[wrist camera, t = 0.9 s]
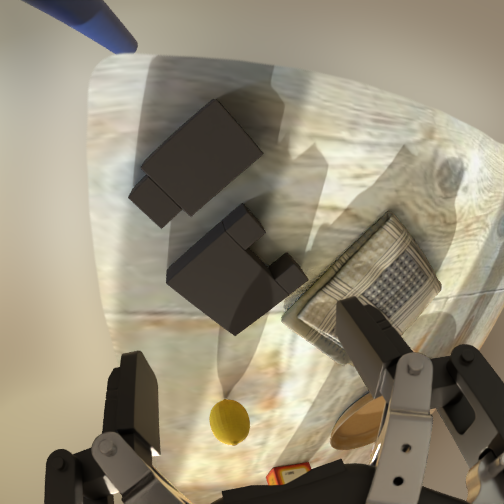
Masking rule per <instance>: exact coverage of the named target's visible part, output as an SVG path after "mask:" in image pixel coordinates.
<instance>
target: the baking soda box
mask: <svg viewBox="0 0 504 504" xmlns="http://www.w3.org/2000/svg"><path fill="white" fill-rule="evenodd" d="M310 470H311V467H310V464H309V462H306V463H301V464H295V465H289V466H282V467H275V468H273V469H272V470H271V471H270V473H269V474H268V475H267V476H266V479H267V482H268V485H283V484H286V483H289V482H290V481H292V480H294V479H296V478H298V477H299V476H301V475H303V474H305V473H306V472H308V471H310Z"/></svg>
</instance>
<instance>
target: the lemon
mask: <svg viewBox="0 0 504 504" xmlns="http://www.w3.org/2000/svg"><path fill="white" fill-rule="evenodd" d="M210 426H211V429H212V432H213V434H214V435H215V437H216V438H217V439H218V440H219V441H221V442H222V443H225V444H228V445H233V446H235V445H237V444H238V443H240V442H242V441H243V440H244V439H245V438H246V437H247V436H248V433H249V429H250V420H249V416H248V413H247V411H246V409H245V408H244V407H243V406H242V405H241V404H240V403H238V402H237V401H234V400H227V399H224V400H223V401H220V402H218V403H217V404H216V405H215V406H214V407H213V408H212V410H211V413H210Z"/></svg>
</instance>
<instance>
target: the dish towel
mask: <svg viewBox="0 0 504 504" xmlns="http://www.w3.org/2000/svg"><path fill="white" fill-rule="evenodd" d="M441 286H442V284H441V283H440V281H439V280H438V279H437V277H436V274H435V273H434V271H433V269H432V267H431V265H430V263H429V262H428V260H427V258H426V257H425V255H424V254H423V252H422V250H421V249H420V247H419V246H418V245H417V243H416V242H415V240H414V239H413V237H412V236H411V235H410V234H409V232H408V231H407V230H406V228H405V227H404V225H403V224H402V223H401V222H400V221H399V220H398V218H397V217H396V216H395V215H394V214H393V213H392V212H390V211H387V212H386V213H385V215H384V216H383V217H382V218H381V219H379V220H378V222H377V223H376V224H374V225H373V226H372V227H371V228H370V229H369V230H368V231H366V233H365V234H364V235H363V236H362V237H360V238H359V240H358V241H357V242H355V243H354V244H353V245H352V246H351V247H350V248H349V249H348V250H347V251H346V252H345V253H344V254H343V255H342V256H341V257H340V258H339V259H338V260H337V261H336V262H335V263H334V265H333V266H331V267H330V268H329V270H328V271H327V272H326V273H325V274H324V275H323V276H322V277H321V278H320V279H319V280H318V281H317V282H316V283H315V284H314V285H313V286H312V287H311V288H310V289H308V291H306V292H305V293H304V294H303V295H302V296H301V297H300V299H299V300H298V301H297V302H296V303H295V304H294V305H293V306H292V307H291V308H290V309H289V310H288V311H287V312H285V313H284V315H283V316H282V317H281V318H282V319H281V322H283V323H284V324H285V325H286V326H287V327H288V328H289V329H291V330H292V331H293V332H295V333H296V334H298V335H299V336H301V337H302V338H304V339H305V340H306V341H308V342H310V343H311V344H312V345H314V346H316V347H317V348H318V349H319V350H321V351H322V352H323V353H325V354H326V355H328V356H329V357H330V358H331V359H333V360H334V361H335V362H336V363H338V364H340V365H342V366H344V365H345V364H347V363H348V364H351V365H352V366H353V367H355V366H354V365H353V363H352V361H351V360H350V358H349V356H348V355H347V353H346V351H345V350H344V348H343V346H342V345H341V343H340V341H339V339H338V337H337V333H336V303H337V301H339V300H342V299H345V298H349V297H352V296H356V297H357V298H358V300H359V301H360V302H361V303H362V305H363V306H364V305H367V304H370V305H372V306H374V307H375V308H377V309H379V310H380V311H381V312H382V314H383V315H384V316H385V317H386V319H387V320H388V321H389V322H390V323H391V325H392V327H394V328H395V330H396V331H397V332H398V333H399V335H400V336H401V335H402V334H403V333H404V332H405V331H406V330H407V328H408V327H409V326H410V325H411V324H412V323H413V322H414V321H415V320H416V319H417V318H418V317H419V315H420V314H421V313H422V312H423V311H424V309H425V308H426V307H427V306H428V305H429V303H430V302H431V301H432V300H433V299H434V297H435V296H436V295H437V294H438V293H439V292H440V291H441Z"/></svg>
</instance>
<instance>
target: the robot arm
mask: <svg viewBox="0 0 504 504" xmlns="http://www.w3.org/2000/svg"><path fill="white" fill-rule="evenodd" d="M336 333H337V337H338V339H339V341H340V343H341V345H342V346H343V348H344V350H345V351H346V353H347V355H348V356H349V358H350V360H351V361H352V363H353V365H354V366H355V368H356V370H357V371H358V373H359V375H360V376H361V378H362V380H363V382H364V383H365V385H366V387H367V388H368V390H369V392H370V393H371V395H372V397H373V399H376V398H378V397H381V396H383V398H384V399H385V401H386V402H385V405H384V410H383V414H382V419H381V423H380V427H379V431H378V435H377V439H376V443H375V446H374V449H373V452H372V455H371V458H370V461H369V464H368V465H366V464H357V463H353V464H344V463H343V461H342V459H339V460H336V461H334V462H331V463H328V464H325V465H322V466H319V467H316V468H313V469H311V470H310V471H308V472H306V473H305V474H303V475H301V476H299V477H298V478H296V479H294V480H292V481H290V482H289V483H286V484H283V485H251V486H246V487H241V488H236V489H231V490H225V491H222V495H223V497H222V498H220V499H218V500H216V501H214V502H213V503H211V504H504V383H503V381H502V380H501V379H500V377H499V376H498V375H497V374H496V372H495V371H494V369H493V368H492V367H491V366H490V364H489V363H488V362H487V361H486V359H485V358H484V357H483V355H482V354H481V353H480V352H479V350H478V349H476V348H475V347H473V346H471V345H467V344H462V345H459V346H457V347H455V348H454V349H453V351H452V353H451V355H450V356H446V357H440V358H434V359H429V358H428V357H427V356H425V355H423V354H421V353H416V352H413V351H412V350H411V349H410V347H409V346H408V345H407V344H406V342H405V341H404V340H403V338H402V337H401V336H400V335H399V333H398V332H397V331H396V330H395V328H394V327H392V325H391V323H390V322H389V321H388V320H387V319H386V317H385V316H384V315H383V314H382V312H381V311H380V310H379V309H377V308H375V307H374V306H372V305H370V304H367V305H364V306H363V305H362V303H361V302H360V301H359V300H358V298H357V297H356V296H352V297H349V298H345V299H342V300H339V301H337V303H336ZM433 408H436V409H437V411H438V413H439V414H440V416H441V418H442V419H443V421H444V423H445V425H446V426H447V428H448V430H449V431H450V433H451V435H452V437H453V439H454V440H455V442H456V444H457V446H458V448H459V449H460V451H461V453H462V455H463V457H464V459H465V461H466V462H467V464H468V466H469V468H470V470H469V472H468V473H467V476H466V486H467V489H468V497H467V500H466V501H465V500H462V499H459V498H456V497H452V496H449V495H446V494H443V493H440V492H437V491H434V490H432V489H429V488H426V487H424V486H422V483H423V478H424V473H425V468H426V463H427V457H428V452H429V446H430V439H431V431H432V424H433V416H432V415H430V409H433ZM159 455H161V453H160V435H159V409H158V383H157V379H156V376H155V374H154V372H153V371H152V369H151V367H150V365H149V364H148V362H147V360H146V359H145V357H144V355H143V353H142V352H141V351H134V352H129V353H124V354H122V356H121V363H120V367H118V368H114V369H113V371H112V373H111V375H110V376H109V378H108V385H107V392H106V400H105V409H104V419H103V431H102V434H101V435H99V436H98V437H97V438H96V439H95V440H94V442H93V444H92V447H91V448H89V449H86V450H84V451H81V452H78V453H75V454H71V453H70V452H69V451H67V450H65V449H58V450H56V451H54V452H52V453H51V454H50V456H49V457H48V459H47V462H46V475H45V499H44V504H114V498H113V494H115V493H118V492H120V494H121V495H122V497H123V498H122V501H123V503H124V504H194V503H193V502H191V501H190V500H189V499H188V498H186V497H185V496H184V495H183V494H182V493H181V492H179V491H178V490H177V489H176V488H175V487H174V486H173V485H172V484H171V483H170V482H169V481H168V480H167V479H166V478H165V477H164V476H163V475H162V474H161V473H160V472H159V471H158V470H157V469H156V468H155V467H154V466H153V465H152V456H159Z"/></svg>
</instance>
